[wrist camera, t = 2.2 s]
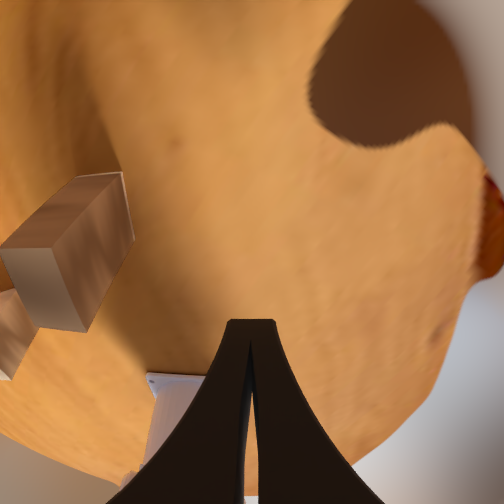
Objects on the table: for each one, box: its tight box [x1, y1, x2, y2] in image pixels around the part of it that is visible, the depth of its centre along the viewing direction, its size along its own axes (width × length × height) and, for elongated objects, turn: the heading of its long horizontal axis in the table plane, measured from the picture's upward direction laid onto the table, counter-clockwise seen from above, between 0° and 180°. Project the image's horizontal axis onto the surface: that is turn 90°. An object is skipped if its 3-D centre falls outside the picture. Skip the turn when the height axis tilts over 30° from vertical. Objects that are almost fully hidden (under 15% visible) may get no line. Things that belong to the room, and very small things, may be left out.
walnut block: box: [0, 171, 136, 333], centre depth 15 cm, size 4×3×8 cm
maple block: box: [0, 288, 40, 380], centre depth 20 cm, size 4×3×7 cm
